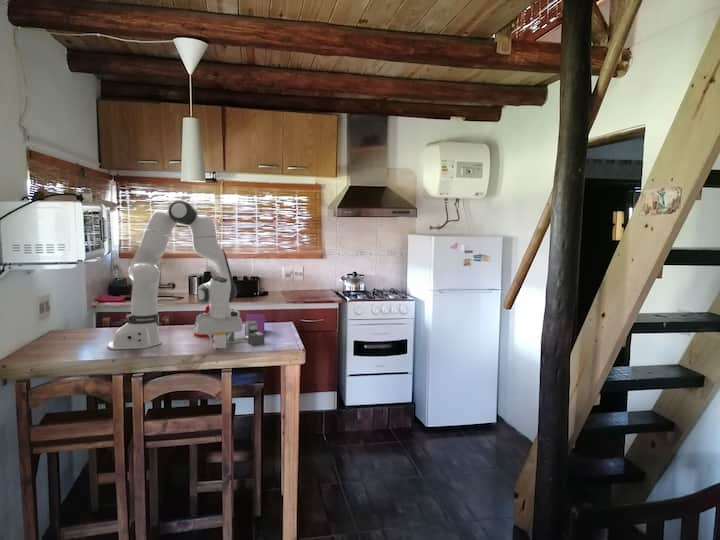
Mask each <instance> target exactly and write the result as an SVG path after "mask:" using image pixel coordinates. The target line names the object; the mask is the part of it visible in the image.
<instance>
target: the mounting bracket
mask: <svg viewBox="0 0 720 540" xmlns="http://www.w3.org/2000/svg"><path fill="white" fill-rule="evenodd" d="M246 321H256V322H257V323H258V332H260V333H263V334H264V333H265V313H246V315H245V324H244V326H245V327H244V334H245V336H246Z"/></svg>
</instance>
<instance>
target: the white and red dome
mask: <svg viewBox="0 0 720 540" xmlns="http://www.w3.org/2000/svg"><path fill="white" fill-rule="evenodd" d="M206 313H210V305H207V306H206V307H205V309H204V313H202V314H206ZM194 322H195V323H194V326H193V327H194V329H193V336H194V337H196V338H202V337H203V338H204V339H205V338H207V339H208V338H209V339H210V337H209V336H208V334H198V333H197V322H196V321H194ZM211 337H212V338H214V334H212V336H211Z"/></svg>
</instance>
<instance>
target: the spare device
mask: <svg viewBox="0 0 720 540" xmlns="http://www.w3.org/2000/svg"><path fill="white" fill-rule="evenodd" d="M247 344H248V345H249V346H252V347H256V346H264V345H265V334H264V333H260V332H254V333H251V334H248V342H247Z"/></svg>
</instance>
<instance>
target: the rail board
mask: <svg viewBox="0 0 720 540" xmlns="http://www.w3.org/2000/svg"><path fill="white" fill-rule="evenodd" d="M245 323H246V335H245V336H235V332H231V336H230V338H229V342H226V345H231V343H233V344H243V343H248V334H251V333H254V332H258V323H257V322H256V321H246V320H245ZM227 336H228V334H227V333H226V338H227Z"/></svg>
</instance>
